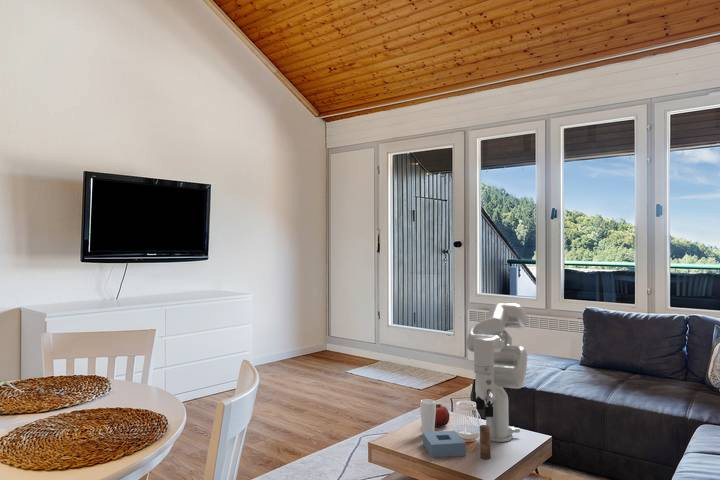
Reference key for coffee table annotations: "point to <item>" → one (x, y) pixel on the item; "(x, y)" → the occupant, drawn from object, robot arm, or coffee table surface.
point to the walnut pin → (485, 442)
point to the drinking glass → (428, 415)
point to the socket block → (444, 444)
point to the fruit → (441, 415)
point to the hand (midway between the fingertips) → (484, 413)
